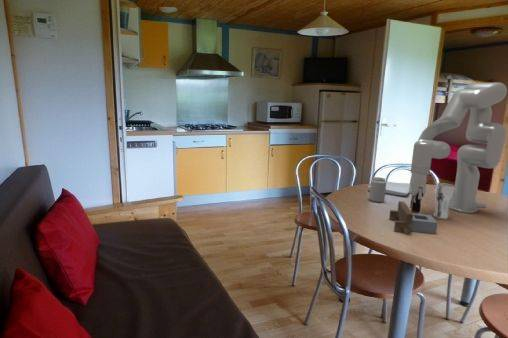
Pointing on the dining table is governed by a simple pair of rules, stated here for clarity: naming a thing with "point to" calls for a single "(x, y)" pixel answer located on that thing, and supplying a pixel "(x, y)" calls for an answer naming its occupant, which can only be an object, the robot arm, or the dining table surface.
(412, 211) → the dowel
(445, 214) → the beer glass
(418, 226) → the hole block
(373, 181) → the can
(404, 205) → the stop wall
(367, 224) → the dining table surface
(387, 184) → the salad plate
